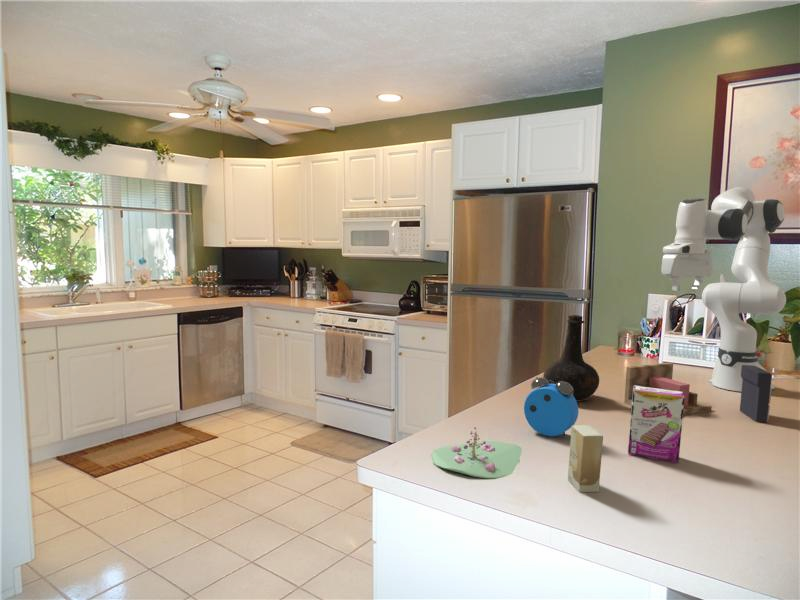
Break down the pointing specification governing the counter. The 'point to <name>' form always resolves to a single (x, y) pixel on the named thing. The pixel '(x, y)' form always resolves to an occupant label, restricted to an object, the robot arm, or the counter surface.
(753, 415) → the stepped charcoal slab
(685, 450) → the counter surface
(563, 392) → the alarm clock
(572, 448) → the skincare box
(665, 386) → the boxed book
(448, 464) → the plant
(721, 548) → the counter surface
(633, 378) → the wooden shelf rack
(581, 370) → the glass bottle
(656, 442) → the candy bar box
